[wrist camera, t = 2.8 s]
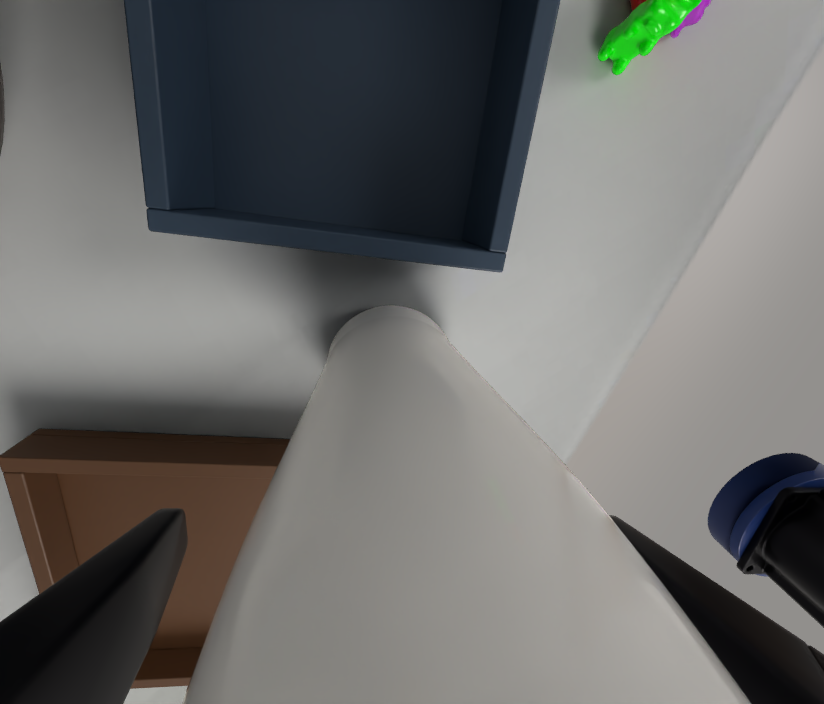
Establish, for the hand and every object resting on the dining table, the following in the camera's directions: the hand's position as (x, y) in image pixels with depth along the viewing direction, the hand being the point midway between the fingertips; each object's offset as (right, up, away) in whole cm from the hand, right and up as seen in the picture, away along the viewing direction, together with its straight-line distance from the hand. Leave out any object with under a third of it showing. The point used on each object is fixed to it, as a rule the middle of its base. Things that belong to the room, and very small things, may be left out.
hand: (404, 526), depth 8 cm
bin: (-2, +13, +5) cm, 14 cm away
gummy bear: (+9, +16, +5) cm, 19 cm away
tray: (-10, -7, +11) cm, 17 cm away
